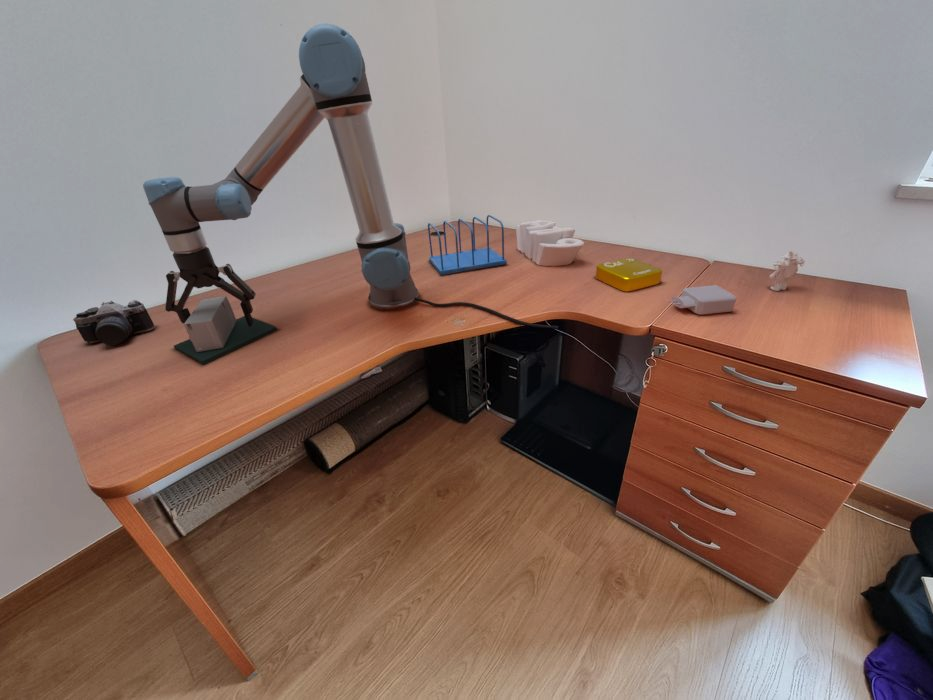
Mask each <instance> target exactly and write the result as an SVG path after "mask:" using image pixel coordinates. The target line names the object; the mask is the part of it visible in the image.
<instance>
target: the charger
mask: <svg viewBox="0 0 933 700" xmlns="http://www.w3.org/2000/svg"><path fill="white" fill-rule="evenodd" d="M736 301H737V297H736V296H735V295H734V294H733V293H731V292H730V291H728V290H726V289H725V288H722V287H721V286H720V285H717V284H712V285H704V286H703V285H702V286H693V287H692V286H691V287H684V288H683V290H682V292H681V295H680V296H674V297H671V300H668V303H672V306H675V307H677V308H678V309H688V310H690V311H691V312H693V313H694V314H696V315H698V316H700V315H711V314H721V313H730V312H733V310H734V307H735V304H736Z"/></svg>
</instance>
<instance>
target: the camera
mask: <svg viewBox="0 0 933 700" xmlns="http://www.w3.org/2000/svg"><path fill="white" fill-rule="evenodd" d="M72 321H73V322H74V324H75V328H76V329H77V331H78V333H79V334H80V336H81V338H82V340H83V341H84V342H85V343H88V344H94V343H100V342H102V343H103V344H105V345H108V346H115V345H120V344H122V343H123V342H125V340H127V339H128V337H130V336H133V335H137V334H141V333H147V332H150V331H152V330H154V329H155V323H154V322H153V319H152V318H151V316H150V314H149V311H148V310H147V308H146V307H145V305H144V303H143V302H141V301H139V300H137V299H132V300H130V301H129V302H128V304H127V305H123V304H120V303H118V302H114V301H113V300H110V301H107V302H104V301H102V302H101V304H100V307H97V306H94V307H90V308H88V309H86V310H84V311H82V312H78V313H76V314H75V316H74V318H73V319H72Z"/></svg>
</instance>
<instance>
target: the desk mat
mask: <svg viewBox="0 0 933 700" xmlns="http://www.w3.org/2000/svg"><path fill="white" fill-rule="evenodd" d="M252 319H253V324H252V326H248V324H247V321H246V318H245V316H244V315H243V316H241V317H239V318H236V320H237V322H236V324H235V326H234V328H233V330H232V332H231V334H230V335H229V337H228V339H227V341H226V343H225V345H224V347H223V348H219V349H213V350H208V351H203V352H197V351H196V349H195V347H194V345H193V343H192V341H191V340H190V339H189V338H188V339H186V340H184V341H181V342H179V343H177V344H174V345H173V348H174V350H176V351H178V352H180V353H182V354H184V355H186V356H187V357H188V358H191V359H192V360H194V361H196V362H197V363H199V364H201V365H206V364H209V363H211V362H213V361H215V360H217V359H219V358H222V357H224V356H226V355H228V354H230V353H232V352H234V351H236V350H238V349H241V348H243V347H245V346H246V345H249V344H251V343H253V342H255V341H258V340H259V339H261V338H264V337H265V336H267V335H270V334H272V333H274V332H276V331H278V328H277V326H275V325H273V324H270V323H268V322H264V321H263V320H260V319H257V318H255V317H252Z"/></svg>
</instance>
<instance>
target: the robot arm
mask: <svg viewBox="0 0 933 700" xmlns="http://www.w3.org/2000/svg"><path fill="white" fill-rule="evenodd" d="M298 60H299V61H298V62H299V66H300V69H301V73H302V74H301V75H300V77H299V82H300V86H299V87H298V88H297V89H296V91H295V92H294V93H293V94H292V96H291V97H290V98H289V99H288V101H287V102H286V103H285V104H284V106H283V107H281V109H280V110H279V111H278V113H277V114H276V115H275V116H274V118H273V119H272V120H271V122H270V123H269V124H268V125H267V126H266V127H265V129H264V130H263V132H262V133H261V134H260V135H259V136H258V137H257V139H256V140H255V141H254V143H253V144H252V145H251V146H250V147H249V149H248V150H247V151H246V152H245V154H244V155H243V156H242V157H241V158H240V159H239V161H238V162H237V164H236V165H235V167H234V168H233V169H232V170H231V171H230V172H229V173H228V175H227V176H226V177H225V178H224V179H222V180H219V181H218V182H215V183H213V184H207V185H206V184H205V185H195V186H186V184H185V183H184V182H183V180H182V179H181V178H180V177H178V176H167V177H158V178H152V179H148V180H145V181H144V182H143V184H142V188H143V190H144V194H145V196H146V199H147V201H148V205H149V206H150V208H151V210H152V212H153V215H154V216H155V219H156V221H157V223H158V225H159V227H160V229H161V233H162V234H163V236H164V239H165V241H166V244H167V246H168V248H169V251H170V252H172V253H173V254H172V257H173V259H174V262H175V264H176V266H177V268H178V270H179V271H178V272H176V271H174V270H170V271H169V272H167V274H166V275H165V278H166V282H167V291H166V298H165V299H166V300H165V308H164V309H165V311H166V312H174V313H176V314H177V316H178V318H179V320H180V323H181V324H184V323H185V322H186V320H187V319H188V318H189V317H190V315H191V314H192V313H191V312H190V310H189V308H188V307H185V305H186V303H187V301H188V300H189V298H190V295H191V293H192V291H193V289H194V288H196V289H203V288H212V287H213V286H214V287H216V288H218V289H219V288H220V290H222V291H224V292H226V293H227V294H229V295H230V296H232V297H234V298H235V299H237V300H238V301H240V304H239V305H240V308H241V310H242V312H243V316H245V318H246V321H247V324H248V326H252V324H253V319H252V318H253V317H252V313H253V311H254V308H253V306H252V302H251V300H254V299H255V297H256V294H257V293H256V292H255V291H254V290H253V289H252V288H251V286H249V285H248V284H247V283H246V282H245V281H244V280H243V279H242V278H241V277H240V276H239V275H238V274H237V273H236V272H235V271H234V269H233V267H232V264H230V263H226V264H225V265H221V266H217V265H216V263H215V260H214V257H213V255H212V252H211V250H210V248H209V247H208V246H207V245H208V243H207V240H206V237H205V234H204V233H203V230H202V227H201V225H200V223H205V222H217V221H218V222H219V221H237V220H241V219H247V218H249V217H250V216H251V214H252V211H253V210H252V209H253V207H252V206H253V205H254V204H255V203H256V202H257V200H258V198H259V196H260V195H261V193H262V192H263V191H264V189H265V188H266V187H267V186H268V185H269V184H270V183H271V181H272V180H273V179H274V178H275V177H276V175H277V174H278V173H279V172H280V171H281V170H282V169H283V167H284V166H285V165H286V164H287V162H289V160H291V158H292V157H293V155H295V153H296V152H298V150H299V148H300V147H301V146H302V145H303V144H304V142H306V141H307V140H308V138H309V137H310V136H311V134H313V132H314V131H315V130H316V129H317V127H318V126H320V124H321V123H322V122H323V120H324V119H326V120H327V123H328V126H329V130H330V133H331V137H332V141H333V144H334V147H335V150H336V154H337V157H338V161H339V165H340V168H341V171H342V175H343V178H344V182H345V185H346V188H347V192H348V193H347V194H348V197H349V200H350V203H351V206H352V210H353V214H354V217H355V220H356V224H357V227H358V234H357V235H356V237H355V242H356V246H357V249H358V253H359V258H360V260H361V266H360V267H361V273H362V276H363V279H364V280H365V282H367V284H368V285H369V286H370V287H369V293H368V296H367V298H368V299H367V300H368V303H369V306H370V307H371V308H372V309H375V310H379V311H387V312H388V311H397V310H399V311H400V310H403V309H407V308H409V307H412V306H413V305H415V304H417V303H418V302H419V303H420V302H421V303H423V304H426V305H428V306H432V307H439V308H443V307H444V308H445V307H453V306H466V307H472V308H476V309H478V310H482V311H485V312H489V313H491V314H493V315H496V316H498V317H500V318H502V319H505V320H508V321H510V322H513V323H515V324H519V325H522V326H525V327H531V328H535V329H548V330H559V326H558V325H549V324H538V323H531V322H527V321H522V320H519V319H516V318H514V317H511V316H508V315H507V314H503V313H500V312H499V311H496V310H494V309H491V308H489V307H486V306H482V305H479V304H476V303H472V302H461V301H455V302H448V303H437V302H433V301H429V300H426V299H423V298H420V295H419V294H420V293H419V290H418V288H417V287H416V284H415V282H414V279H413V277H412V275H411V265H410V264H411V263H410V259H409V253H408V247H407V240H406V239H407V238H406V231H405V227H404V225H403V224H401V223H397V222H394V219H393V215H392V211H391V206H390V202H389V197H388V194H387V189H386V185H385V180H384V176H383V172H382V168H381V163H380V160H379V156H378V152H377V148H376V147H377V146H376V142H375V138H374V134H373V131H372V126H371V122H370V117H369V110H370V109H371V106H372V105H373V100H372V96H371V91H370V87H369V82H368V81H369V80H368V78H367V73H366V63H365V59H364V57H363V54H362V50H361V48H360V46H359V45H358V43H357V41H356V39H355V38H354V36H353V35H351V34H350V32H348V31H347V30H346V29H344V28H342V27H340V26H338V25H335V24H331V23H319V24H316V25H314V26H312V27H311V28H309V29H308V30H307V31H306V32H305V34H304V35H303V36H302V39H301V40H300V44H299V49H298ZM220 273H221V274H223V276H226V277H227V278H228V279H229V281H231V283H233V284H234V285H235V286H234V285H232V284H231V283H229V282H228V281H226V280H225V279H224V278H223V277H221V276H220ZM180 278H181V279H182V280H183V281H185V282H186V285H185V287H184V289H183V292H182V293H181V296H180V298H179V300H178V302H177V303H176V297H177V289H178V281H179V280H180Z"/></svg>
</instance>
